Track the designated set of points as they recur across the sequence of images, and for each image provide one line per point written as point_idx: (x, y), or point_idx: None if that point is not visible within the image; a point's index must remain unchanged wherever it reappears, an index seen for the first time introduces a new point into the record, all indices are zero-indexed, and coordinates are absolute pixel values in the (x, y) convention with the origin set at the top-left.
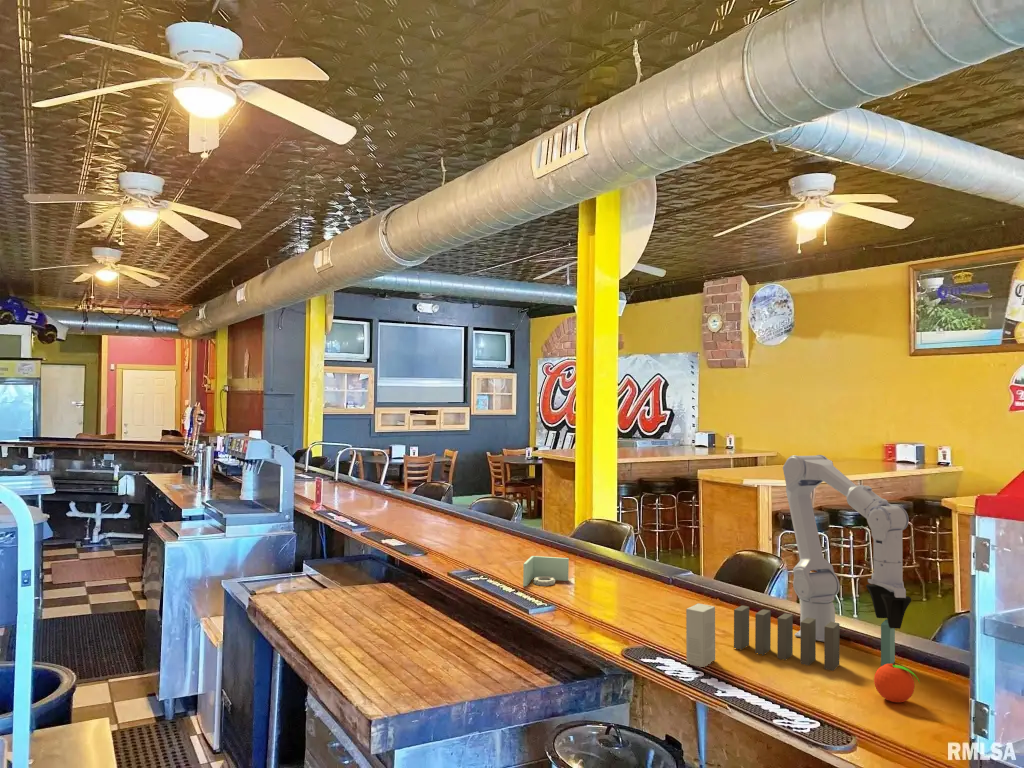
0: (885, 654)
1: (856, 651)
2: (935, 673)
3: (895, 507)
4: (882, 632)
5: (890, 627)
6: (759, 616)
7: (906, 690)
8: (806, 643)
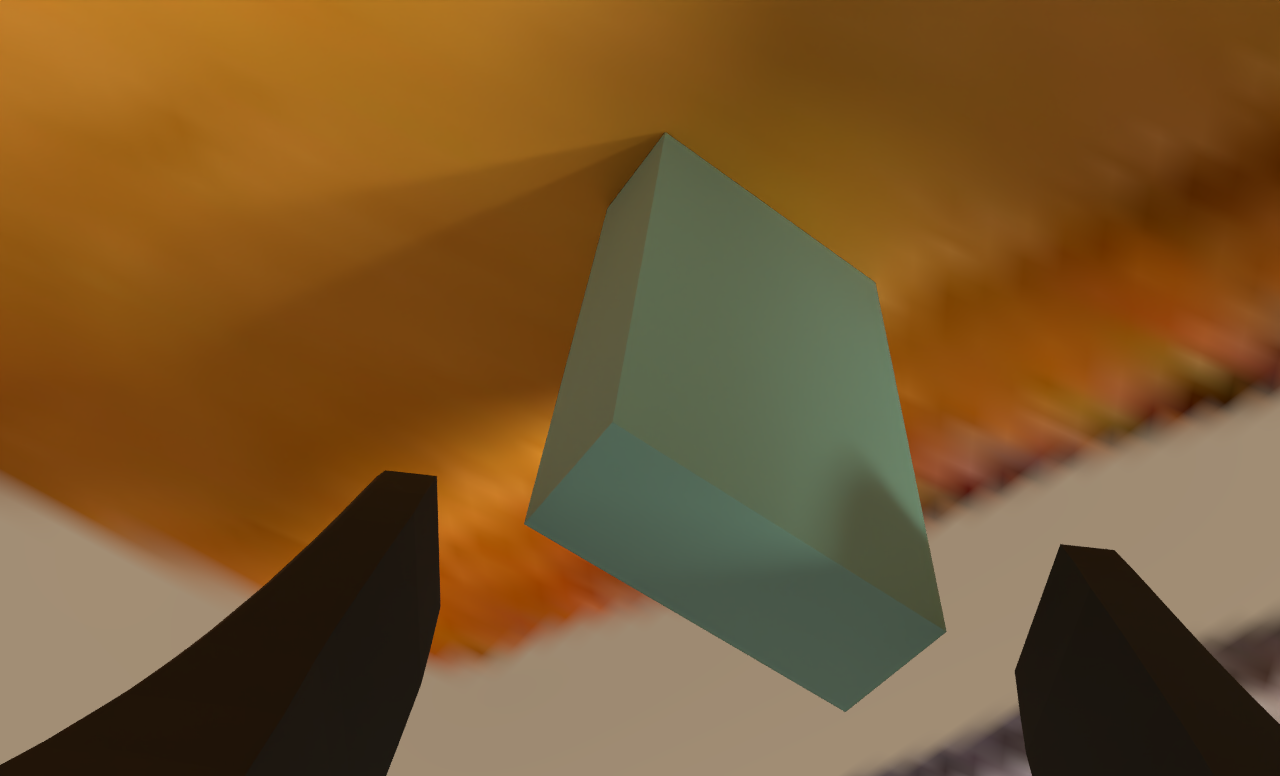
0: (618, 233)
1: (1244, 62)
2: (497, 547)
3: None
4: (609, 357)
5: (378, 478)
6: None
7: None
8: None
